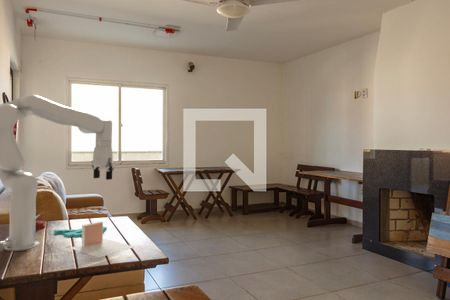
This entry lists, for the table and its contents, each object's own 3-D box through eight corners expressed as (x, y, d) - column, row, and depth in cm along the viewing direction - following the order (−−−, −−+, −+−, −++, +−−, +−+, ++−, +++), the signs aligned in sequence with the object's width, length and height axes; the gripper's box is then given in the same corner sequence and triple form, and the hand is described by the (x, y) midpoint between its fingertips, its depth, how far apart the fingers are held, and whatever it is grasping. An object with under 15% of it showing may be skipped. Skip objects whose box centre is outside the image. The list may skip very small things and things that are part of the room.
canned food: (36, 239, 176) (30, 223, 172) (22, 234, 180) (15, 219, 175) (53, 224, 186) (48, 209, 181) (39, 220, 189) (33, 206, 184)
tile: (84, 247, 146) (84, 225, 146) (81, 246, 147) (82, 225, 147) (102, 242, 153) (103, 222, 153) (100, 241, 154) (100, 221, 154)
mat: (98, 259, 133) (98, 257, 133) (68, 249, 145) (68, 247, 145) (135, 248, 148) (135, 246, 148) (105, 240, 159) (105, 238, 159)
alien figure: (54, 234, 169) (76, 242, 157) (54, 230, 169) (76, 237, 157) (91, 227, 185) (114, 233, 173) (91, 223, 185) (114, 229, 172)
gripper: (86, 143, 175) (85, 177, 175) (108, 144, 165) (107, 180, 165) (99, 144, 181) (98, 177, 181) (121, 144, 172) (120, 179, 172)
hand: (102, 178), depth 173 cm, fingers open, 9 cm apart
